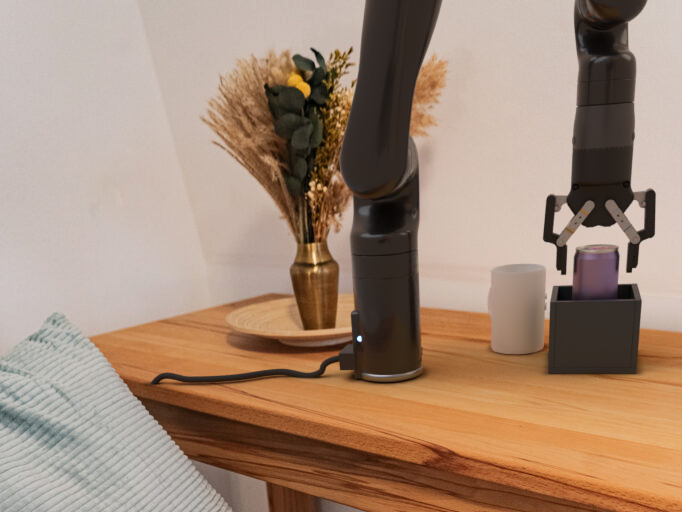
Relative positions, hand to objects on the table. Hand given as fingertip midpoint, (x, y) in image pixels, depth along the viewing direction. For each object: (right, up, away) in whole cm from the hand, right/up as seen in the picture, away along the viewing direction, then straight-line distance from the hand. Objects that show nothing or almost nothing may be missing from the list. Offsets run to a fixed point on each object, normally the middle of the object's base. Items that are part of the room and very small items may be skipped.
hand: (595, 273), depth 114 cm
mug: (-8, -7, +17) cm, 20 cm away
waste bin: (+1, -11, +5) cm, 12 cm away
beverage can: (+1, -11, +5) cm, 12 cm away
